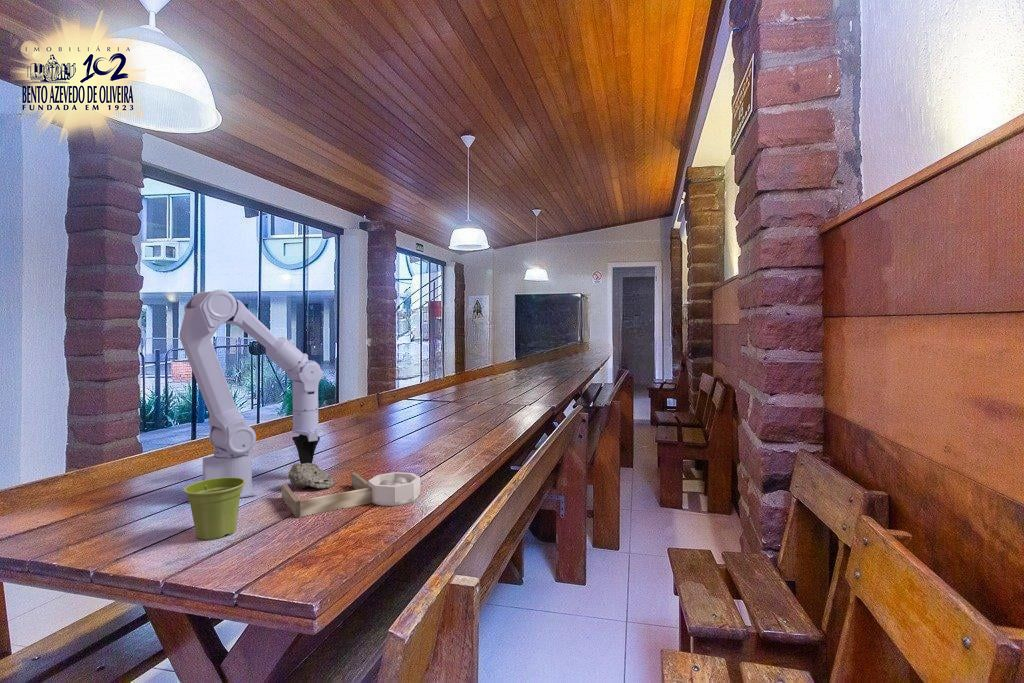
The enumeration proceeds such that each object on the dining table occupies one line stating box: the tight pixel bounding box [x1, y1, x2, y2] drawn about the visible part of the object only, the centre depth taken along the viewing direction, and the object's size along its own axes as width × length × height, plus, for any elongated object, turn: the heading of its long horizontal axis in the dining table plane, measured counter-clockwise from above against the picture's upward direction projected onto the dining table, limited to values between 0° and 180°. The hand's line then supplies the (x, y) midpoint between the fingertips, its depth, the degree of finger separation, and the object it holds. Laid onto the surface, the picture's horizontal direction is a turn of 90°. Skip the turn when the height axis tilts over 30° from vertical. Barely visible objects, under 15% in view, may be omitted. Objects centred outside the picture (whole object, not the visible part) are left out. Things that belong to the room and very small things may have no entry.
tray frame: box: [281, 471, 373, 519], centre depth 108 cm, size 16×14×3 cm
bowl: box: [367, 471, 421, 507], centre depth 109 cm, size 10×10×4 cm
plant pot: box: [183, 477, 245, 541], centre depth 90 cm, size 9×9×9 cm
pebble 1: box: [379, 480, 392, 485], centre depth 109 cm, size 3×3×3 cm
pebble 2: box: [394, 477, 407, 484], centre depth 111 cm, size 3×3×3 cm
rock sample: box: [286, 462, 336, 489], centre depth 117 cm, size 10×8×9 cm
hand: (306, 465), depth 124 cm, fingers closed
